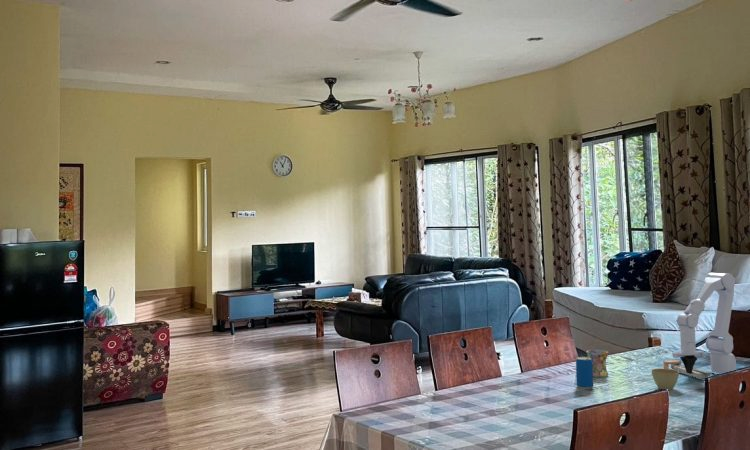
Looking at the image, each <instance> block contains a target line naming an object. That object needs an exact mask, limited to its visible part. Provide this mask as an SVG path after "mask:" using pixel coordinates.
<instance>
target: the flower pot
mask: <svg viewBox="0 0 750 450" xmlns="http://www.w3.org/2000/svg"><path fill="white" fill-rule="evenodd" d="M651 374H652V378H653V381H654V383H655V385H656V386H657V388H658V389H659V390H661V389H668V390H667V391H673V389H674V388H675V386H676V385H677V382H678V381H679V375H680V372H678V371H676V370H672V369H671V368H669V369H664V368H652V369H651Z"/></svg>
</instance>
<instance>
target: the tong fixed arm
mask: <svg viewBox="0 0 750 450" xmlns="http://www.w3.org/2000/svg"><path fill="white" fill-rule="evenodd" d="M677 367H683V368H685V366H684V364H683V365H682V364H681V365H679V364H670V369H671V368H672V369H674V370H676V371H677ZM693 371H696V372H699V373H703V374H706V377H708V376H710V377H711V373H710V372H706V371H707V370H706V371H705V370H701V369H697V368H694V367H693Z"/></svg>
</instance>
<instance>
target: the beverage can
mask: <svg viewBox="0 0 750 450" xmlns="http://www.w3.org/2000/svg"><path fill="white" fill-rule="evenodd" d="M575 373H576V374H575V375H576V387H578V389H582V390H591V389H592V388H593V387H594V376H593V362H592V360H591V358H589V357H587V356H578V357H576V360H575Z"/></svg>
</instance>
